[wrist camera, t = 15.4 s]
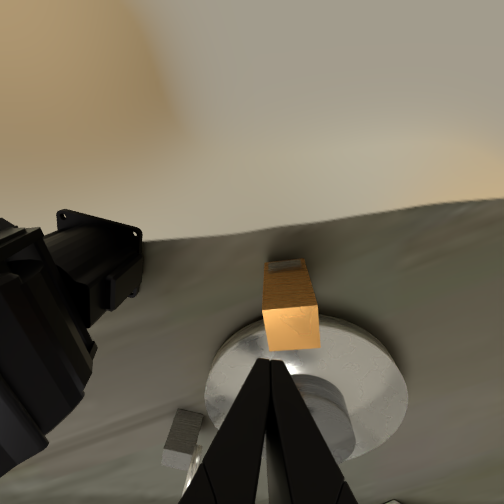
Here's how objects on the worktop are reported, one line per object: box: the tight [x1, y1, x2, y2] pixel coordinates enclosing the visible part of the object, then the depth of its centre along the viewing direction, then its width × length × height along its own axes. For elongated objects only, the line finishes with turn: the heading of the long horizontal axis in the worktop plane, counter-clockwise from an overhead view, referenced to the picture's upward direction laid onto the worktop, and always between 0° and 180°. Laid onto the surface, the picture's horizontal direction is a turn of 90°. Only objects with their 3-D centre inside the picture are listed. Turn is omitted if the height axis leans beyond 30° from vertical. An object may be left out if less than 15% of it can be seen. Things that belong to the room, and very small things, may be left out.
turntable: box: [205, 258, 408, 461], centre depth 20 cm, size 23×18×6 cm
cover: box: [262, 374, 356, 464], centre depth 21 cm, size 8×8×4 cm
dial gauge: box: [161, 409, 203, 496], centre depth 26 cm, size 4×4×6 cm
